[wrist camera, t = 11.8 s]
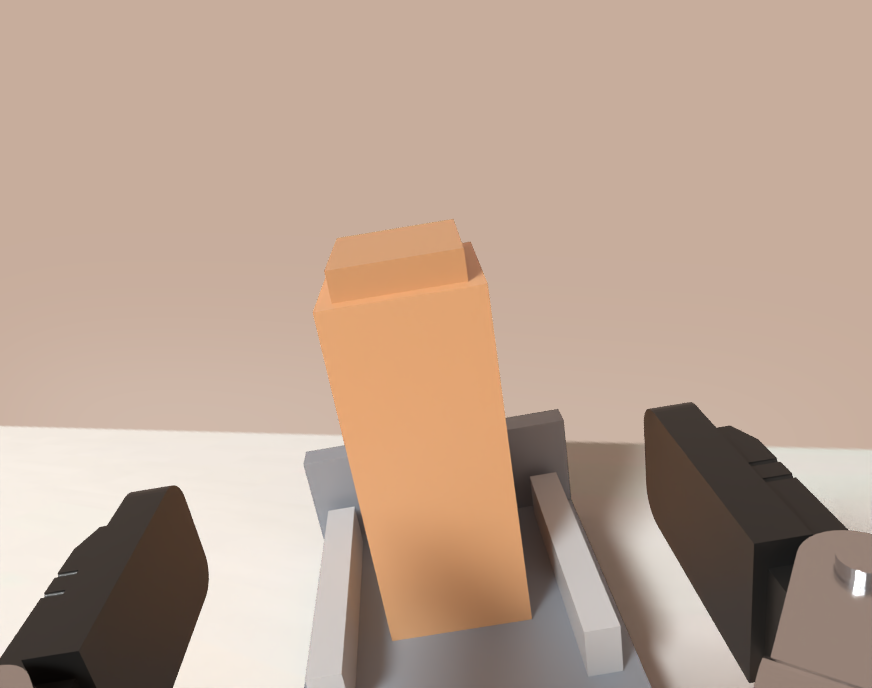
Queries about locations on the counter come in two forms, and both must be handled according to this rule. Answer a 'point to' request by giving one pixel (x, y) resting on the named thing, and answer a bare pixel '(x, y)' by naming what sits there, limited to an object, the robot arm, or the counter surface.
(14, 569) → the counter surface
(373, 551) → the block
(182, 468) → the counter surface
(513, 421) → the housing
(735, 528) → the robot arm
